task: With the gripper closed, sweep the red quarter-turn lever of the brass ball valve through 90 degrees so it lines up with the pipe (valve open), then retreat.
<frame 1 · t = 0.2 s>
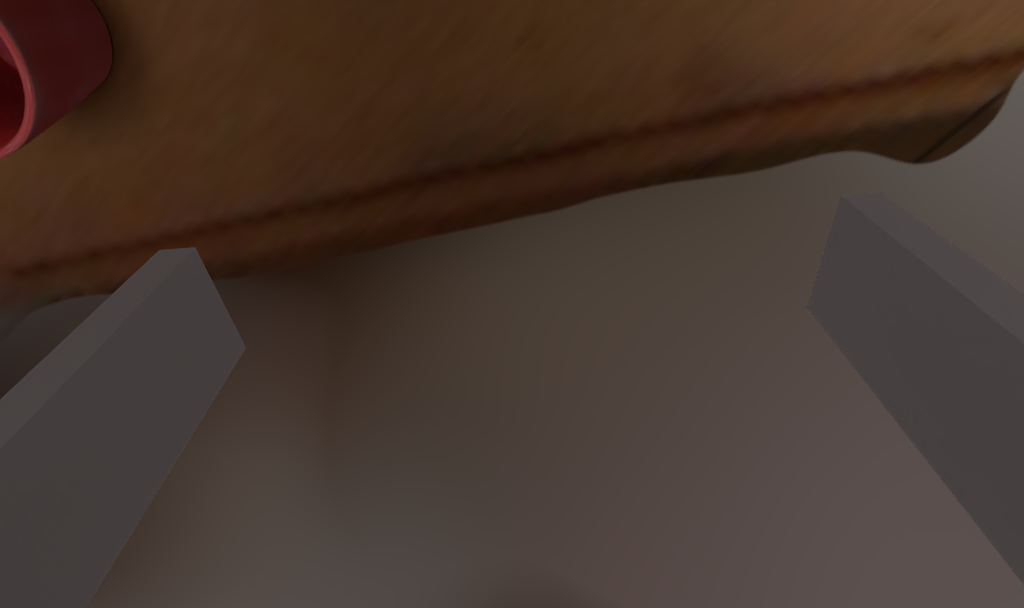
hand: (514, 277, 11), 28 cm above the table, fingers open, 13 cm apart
flower pot: (49, 25, 33), on the table
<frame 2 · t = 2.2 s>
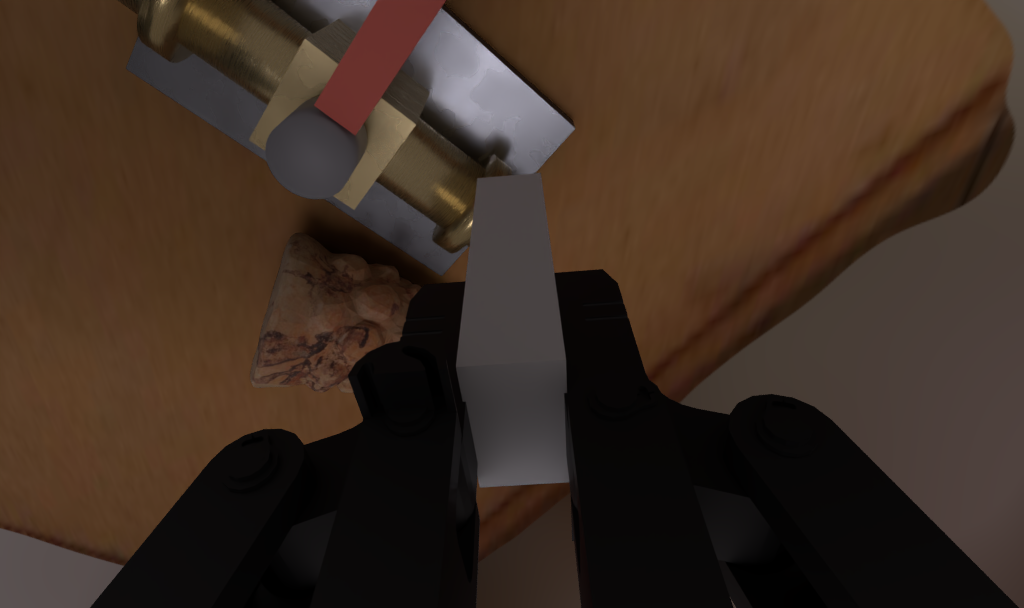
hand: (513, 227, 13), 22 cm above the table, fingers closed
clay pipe: (377, 313, 42), on the table
lever: (392, 32, 22), point 10 cm above the table, hinge at 0.0°
valve: (364, 92, 32), on the table
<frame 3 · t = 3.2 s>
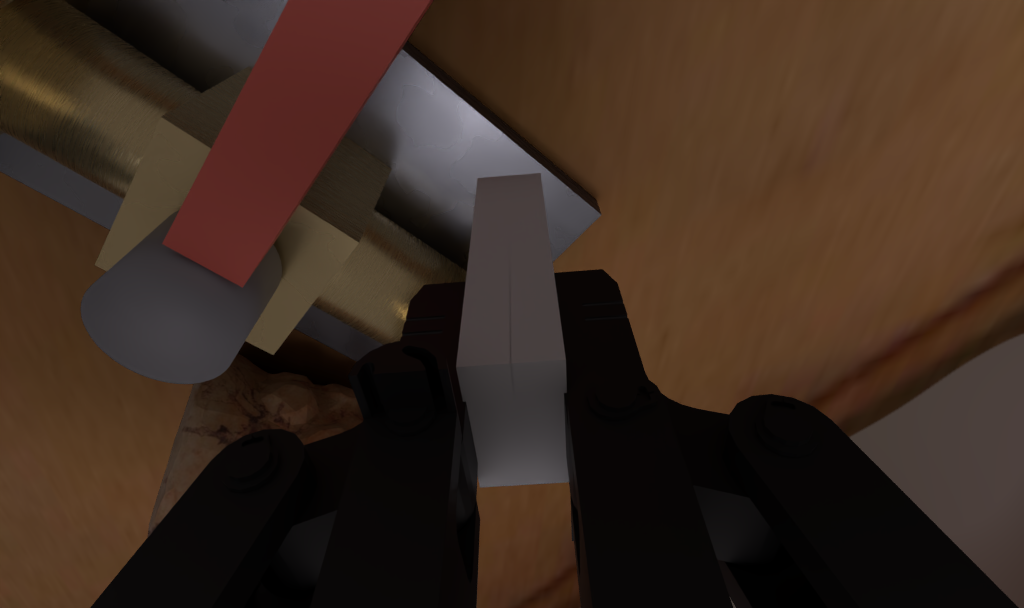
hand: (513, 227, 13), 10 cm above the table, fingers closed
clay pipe: (338, 429, 33), on the table
lever: (297, 118, 12), point 10 cm above the table, hinge at 0.0°
valve: (299, 164, 22), on the table
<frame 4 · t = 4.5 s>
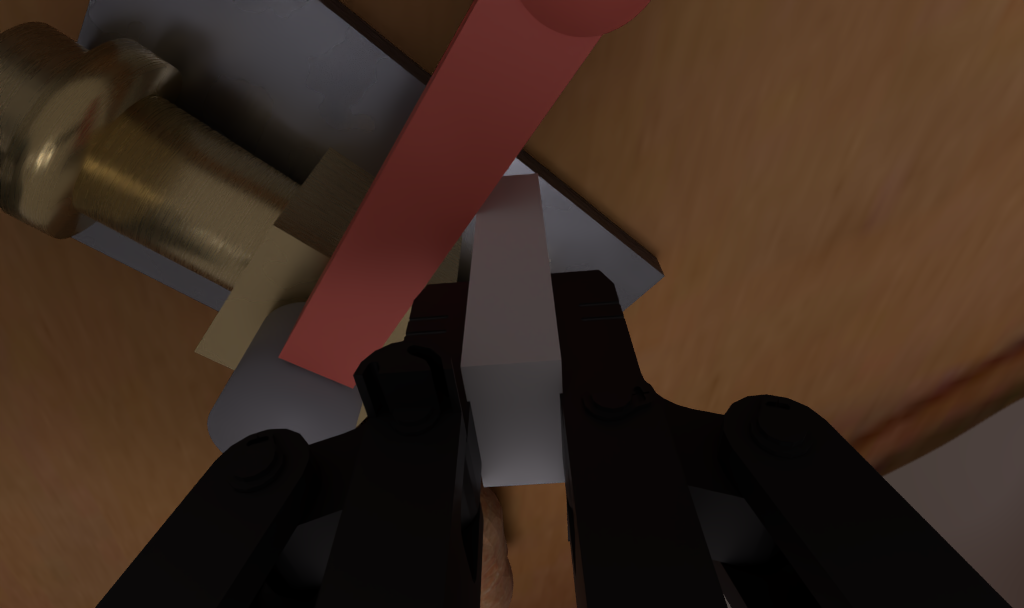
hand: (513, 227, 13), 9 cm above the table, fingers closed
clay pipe: (392, 470, 34), on the table
lever: (399, 230, 12), point 10 cm above the table, hinge at 5.3°, touching gripper
valve: (368, 229, 23), on the table
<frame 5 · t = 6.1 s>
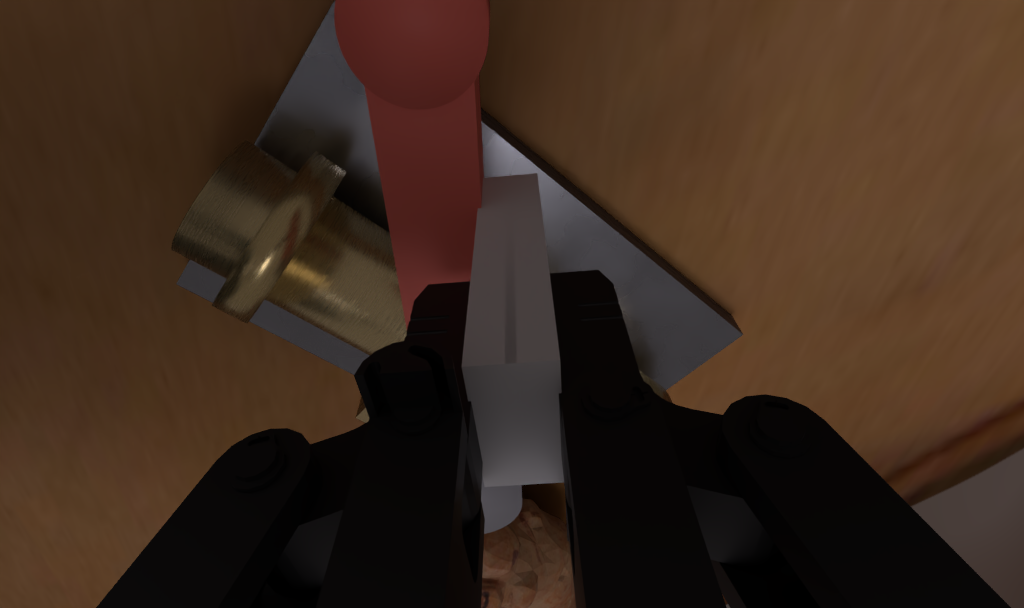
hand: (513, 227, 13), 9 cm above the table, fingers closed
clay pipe: (466, 503, 36), on the table
lever: (450, 306, 14), point 10 cm above the table, hinge at 40.9°, touching gripper
valve: (475, 291, 25), on the table
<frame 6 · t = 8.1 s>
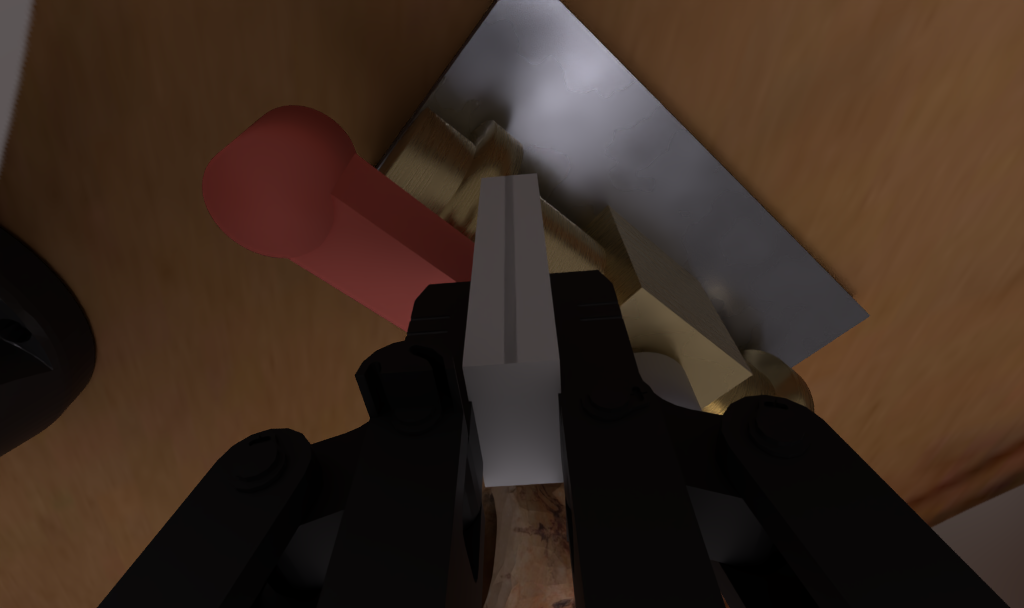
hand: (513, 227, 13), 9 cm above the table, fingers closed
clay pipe: (554, 498, 36), on the table
lever: (507, 332, 15), point 10 cm above the table, hinge at 87.9°, touching gripper
valve: (600, 272, 25), on the table
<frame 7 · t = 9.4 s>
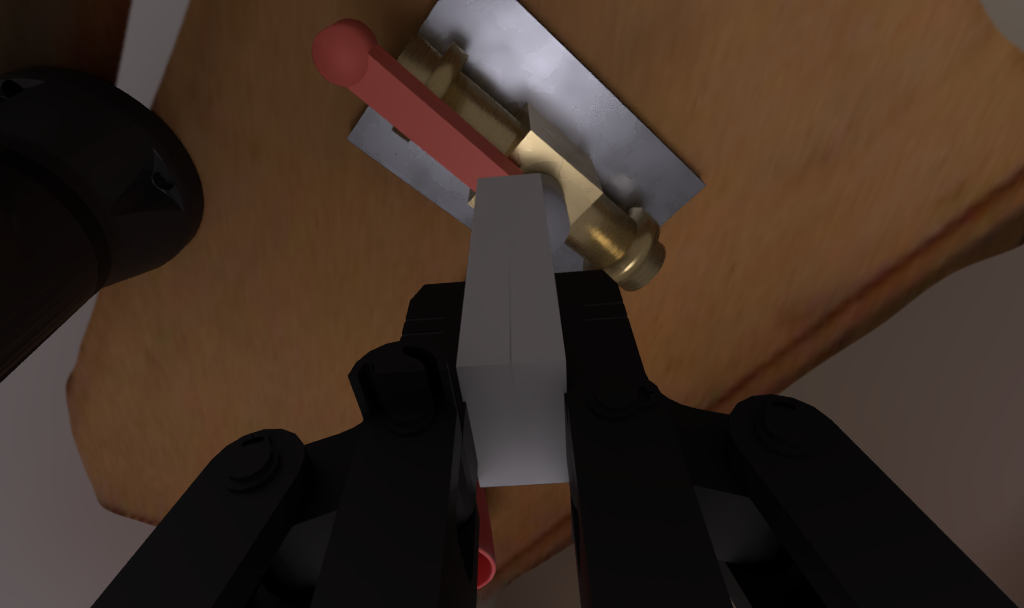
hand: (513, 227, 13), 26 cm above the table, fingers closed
flower pot: (452, 488, 63), on the table
lever: (453, 143, 29), point 10 cm above the table, hinge at 87.9°
valve: (530, 155, 39), on the table
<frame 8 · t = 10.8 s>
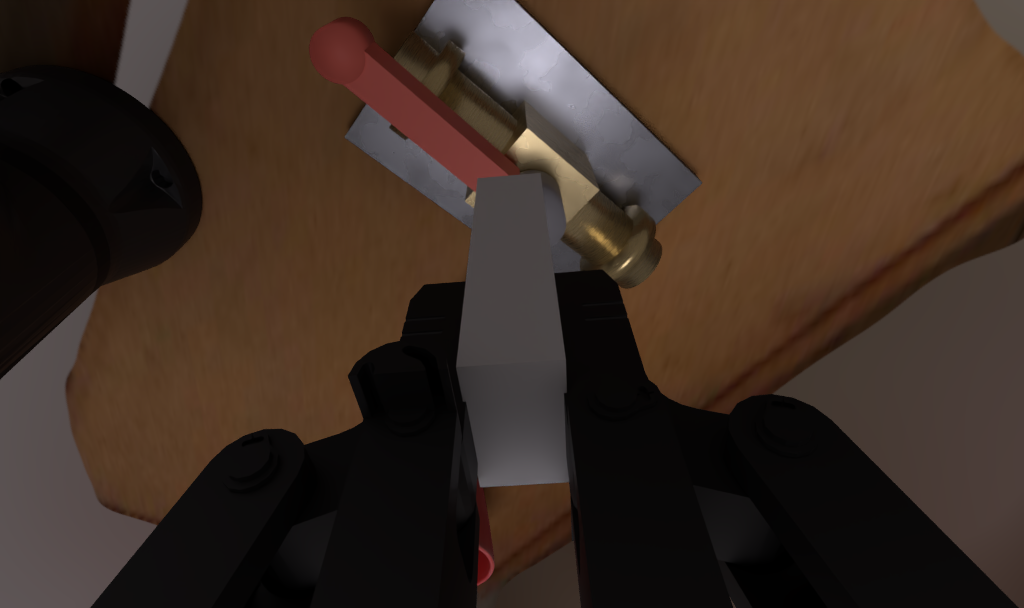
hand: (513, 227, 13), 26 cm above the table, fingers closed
flower pot: (450, 486, 63), on the table
lever: (450, 140, 29), point 10 cm above the table, hinge at 87.9°
valve: (527, 153, 39), on the table
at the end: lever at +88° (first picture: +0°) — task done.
